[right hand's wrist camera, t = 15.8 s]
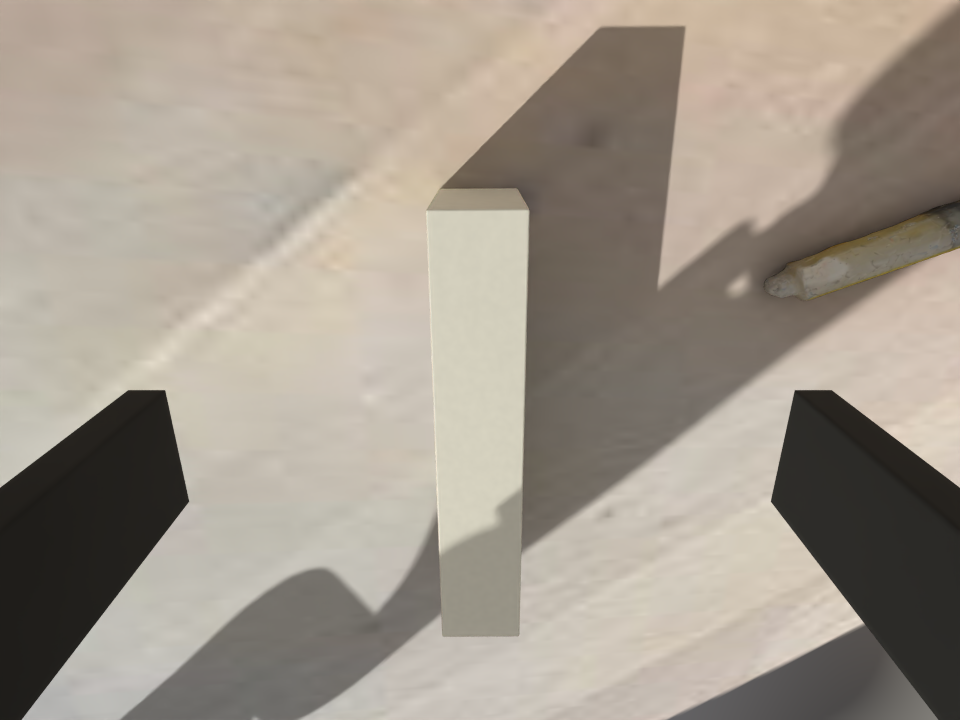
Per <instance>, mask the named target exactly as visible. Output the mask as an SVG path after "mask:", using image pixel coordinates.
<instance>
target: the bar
mask: <svg viewBox="0 0 960 720" xmlns="http://www.w3.org/2000/svg"><path fill="white" fill-rule="evenodd" d="M529 221H530V210H529V208H528V206H527V205H526V203H525V201H524V199H523V198H522V196H521V194H520V192H519V191H518V189H517V188H459V189H439V191H438V192H437V194H436V195H435V197H434V199H433V200H432V202H431V204H430V205H429V207H428V208H427V210H426V226H427V252H428V278H429V304H430V330H431V356H432V382H433V408H434V434H435V460H436V486H437V512H438V539H439V565H440V591H441V617H442V635H443V636H444V637H469V636H519V623H520V583H521V543H522V503H523V462H524V422H525V382H526V342H527V302H528V262H529Z"/></svg>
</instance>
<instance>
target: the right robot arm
mask: <svg viewBox="0 0 960 720" xmlns="http://www.w3.org/2000/svg"><path fill="white" fill-rule="evenodd" d="M188 502H189V499H188V494H187V490H186V485H185V480H184V476H183V471H182V466H181V462H180V457H179V452H178V448H177V443H176V439H175V434H174V429H173V425H172V420H171V415H170V411H169V406H168V402H167V397H166V392H165V390H128V391H127V392H125V393H124V394H123V395H122V396H120V397H119V398H118V399H116V400H115V401H114V402H112V403H111V404H110V405H108V406H107V407H106V408H104V409H103V410H102V411H101V412H99V413H98V414H97V415H95V416H94V417H93V418H91V419H90V420H89V421H87V422H86V423H85V424H83V425H82V426H81V427H79V428H78V429H77V430H76V431H74V432H73V433H72V434H70V435H69V436H68V437H66V438H65V439H64V440H62V441H61V442H60V443H58V444H57V445H56V446H54V447H53V448H52V449H51V450H49V451H48V452H47V453H45V454H44V455H43V456H41V457H40V458H39V459H37V460H36V461H35V462H33V463H32V464H31V465H30V466H28V467H27V468H26V469H24V470H23V471H22V472H20V473H19V474H18V475H16V476H15V477H14V478H12V479H11V480H10V481H8V482H7V483H6V484H5V485H3V486H2V487H1V488H0V720H22V718H23V717H24V716H25V714H26V713H27V712H28V711H29V709H30V708H31V707H32V705H33V704H34V703H35V701H36V700H37V699H38V698H39V696H40V695H41V694H42V692H43V691H44V690H45V688H46V687H47V686H48V685H49V683H50V682H51V681H52V679H53V678H54V677H55V675H56V674H57V673H58V672H59V670H60V669H61V668H62V666H63V665H64V664H65V662H66V661H67V660H68V659H69V657H70V656H71V655H72V653H73V652H74V651H75V649H76V648H77V647H78V645H79V644H80V643H81V642H82V640H83V639H84V638H85V636H86V635H87V634H88V632H89V631H90V630H91V629H92V627H93V626H94V625H95V623H96V622H97V621H98V619H99V618H100V617H101V616H102V614H103V613H104V612H105V610H106V609H107V608H108V606H109V605H110V604H111V603H112V601H113V600H114V599H115V597H116V596H117V595H118V593H119V592H120V591H121V590H122V588H123V587H124V586H125V584H126V583H127V582H128V580H129V579H130V578H131V576H132V575H133V574H134V573H135V571H136V570H137V569H138V567H139V566H140V565H141V563H142V562H143V561H144V560H145V558H146V557H147V556H148V554H149V553H150V552H151V550H152V549H153V548H154V547H155V545H156V544H157V543H158V541H159V540H160V539H161V537H162V536H163V535H164V534H165V532H166V531H167V530H168V528H169V527H170V526H171V524H172V523H173V522H174V521H175V519H176V518H177V517H178V515H179V514H180V513H181V511H182V510H183V509H184V508H185V506H186V505H187V504H188ZM771 502H772V504H773V505H774V506H775V508H776V509H777V510H778V511H779V513H780V514H781V515H782V517H783V518H784V519H785V521H786V522H787V523H788V524H789V526H790V527H791V528H792V530H793V531H794V532H795V534H796V535H797V536H798V537H799V539H800V540H801V541H802V543H803V544H804V545H805V547H806V548H807V549H808V550H809V552H810V553H811V554H812V556H813V557H814V558H815V560H816V561H817V562H818V563H819V565H820V566H821V567H822V569H823V570H824V571H825V573H826V574H827V575H828V576H829V578H830V579H831V580H832V582H833V583H834V584H835V586H836V587H837V588H838V590H839V591H840V592H841V593H842V595H843V596H844V597H845V599H846V600H847V601H848V603H849V604H850V605H851V606H852V608H853V609H854V610H855V612H856V613H857V614H858V616H859V617H860V618H861V619H862V621H863V622H864V623H865V625H866V626H867V627H868V629H869V630H870V631H871V632H872V634H873V635H874V636H875V638H876V639H877V640H878V642H879V643H880V644H881V645H882V647H883V648H884V649H885V651H886V652H887V653H888V655H889V656H890V657H891V659H892V660H893V661H894V662H895V664H896V665H897V666H898V668H899V669H900V670H901V672H902V673H903V674H904V675H905V677H906V678H907V679H908V681H909V682H910V683H911V685H912V686H913V687H914V688H915V690H916V691H917V692H918V693H919V695H920V696H921V698H922V699H923V700H924V701H925V703H926V704H927V705H928V707H929V708H930V709H931V710H932V712H933V713H934V714H935V716H936V717H937V718H938V720H960V488H959V487H958V486H957V485H955V484H954V483H953V482H952V481H950V480H949V479H948V478H946V477H945V476H944V475H942V474H941V473H940V472H938V471H937V470H936V469H934V468H933V467H932V466H930V465H929V464H928V463H927V462H925V461H924V460H923V459H921V458H920V457H919V456H917V455H916V454H915V453H913V452H912V451H911V450H909V449H908V448H907V447H906V446H904V445H903V444H902V443H900V442H899V441H898V440H896V439H895V438H894V437H892V436H891V435H890V434H888V433H887V432H886V431H884V430H883V429H882V428H881V427H879V426H878V425H877V424H875V423H874V422H873V421H871V420H870V419H869V418H867V417H866V416H865V415H863V414H862V413H861V412H859V411H858V410H857V409H856V408H854V407H853V406H852V405H850V404H849V403H848V402H846V401H845V400H844V399H842V398H841V397H840V396H838V395H837V394H836V393H835V392H833V391H832V390H795V392H794V397H793V401H792V406H791V411H790V415H789V420H788V425H787V429H786V434H785V439H784V443H783V448H782V452H781V457H780V462H779V466H778V471H777V476H776V480H775V485H774V490H773V494H772V499H771Z"/></svg>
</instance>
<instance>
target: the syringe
mask: <svg viewBox="0 0 960 720" xmlns="http://www.w3.org/2000/svg"><path fill="white" fill-rule="evenodd" d="M958 248H960V200H959V201H957V202H953V203H950V204H946V205H942V206H939V207H936V208H933V209H931V210H929V211H927V212H924V213H922V214H920V215H917V216H915V217H913V218H911V219H908V220H906V221H903V222H901V223H899V224H897V225H894V226H892V227H889V228H886V229H883V230H880V231H877V232H874V233H871V234H869V235H867V236H864V237H862V238H859V239H856V240H853V241H849V242H844V243H840V244H837V245H834V246H832V247H829V248H827V249H825V250H823V251H821V252H820V253H818V254H815V255H812V256H809V257H806V258H804V259H802V260H798V261H794V262H790V263H787V264H786V268H785V269H784V270H783V271H781V272H780V273H778V274H776V275H774V276H772V277H770V278H768V279H766V281H765V282H764V290H765V291H766V292H767V293H769V294H770V295H772V296H777V297H780V298H784V297H787V296H791V295H793V296H795V297H797V298H798V299H800V300H801V301H807V300H811V299H814V298H817V297H820V296H822V295H825V294H828V293H831V292H834V291H837V290H840V289H843V288H846V287H848V286H851V285H854V284H857V283H860V282H863V281H866V280H869V279H871V278H874V277H877V276H880V275H883V274H886V273H889V272H892V271H894V270H897V269H900V268H903V267H906V266H909V265H912V264H915V263H918V262H920V261H923V260H926V259H929V258H932V257H935V256H938V255H941V254H944V253H947V252H950V251H953V250H955V249H958Z"/></svg>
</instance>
